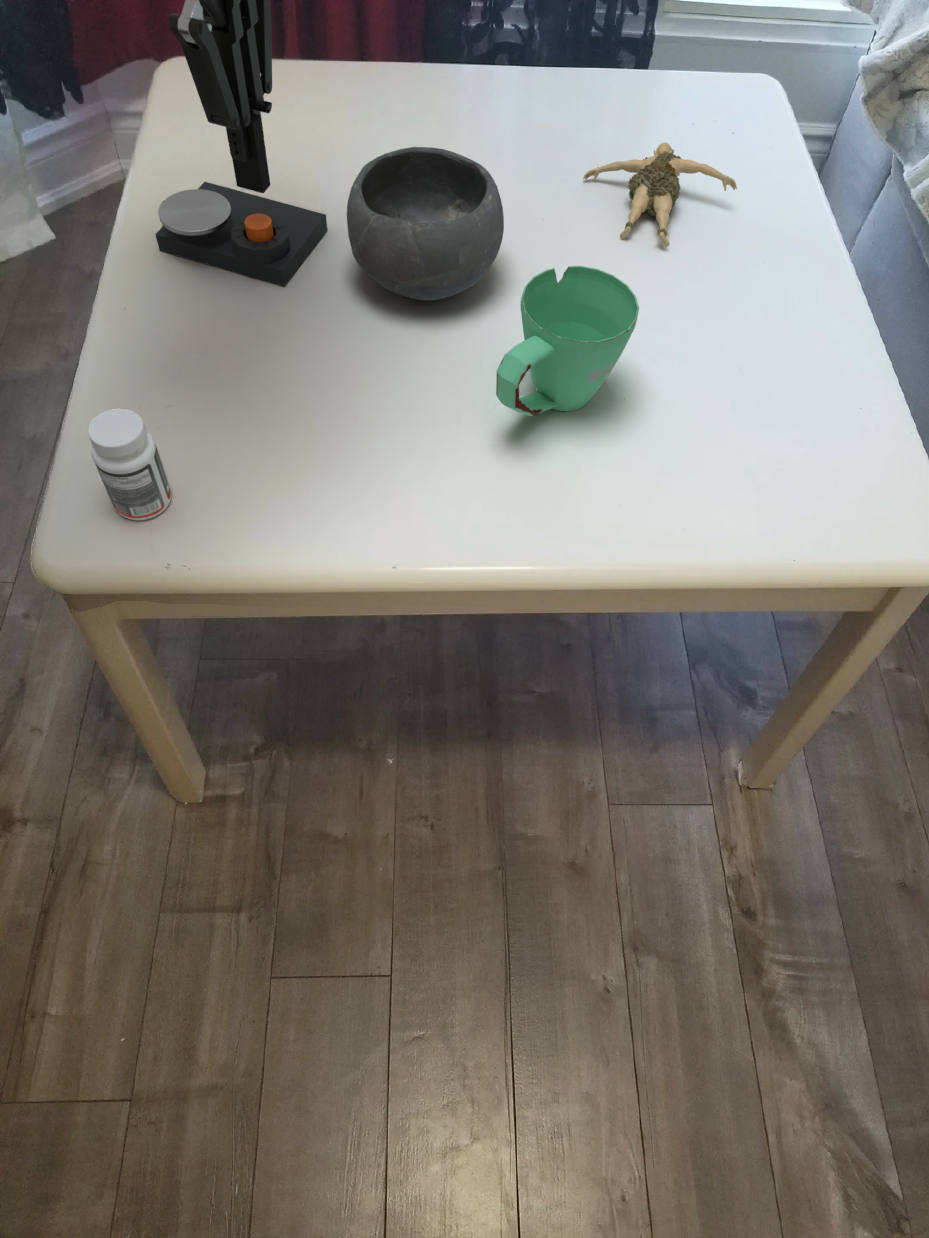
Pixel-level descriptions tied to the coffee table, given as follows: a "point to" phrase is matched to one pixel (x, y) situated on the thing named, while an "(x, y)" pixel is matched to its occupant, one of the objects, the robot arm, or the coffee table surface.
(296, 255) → the scale
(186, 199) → the scale pan
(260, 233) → the button
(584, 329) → the mug
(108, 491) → the pill bottle
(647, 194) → the figurine
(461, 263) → the bowl
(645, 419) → the coffee table surface
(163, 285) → the coffee table surface
